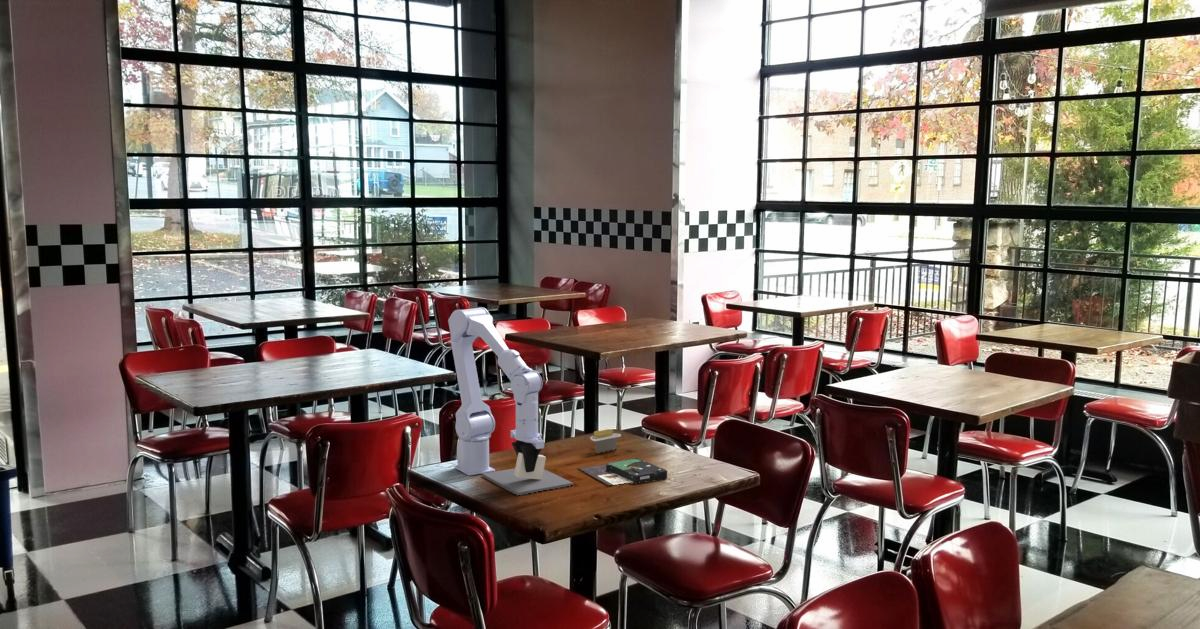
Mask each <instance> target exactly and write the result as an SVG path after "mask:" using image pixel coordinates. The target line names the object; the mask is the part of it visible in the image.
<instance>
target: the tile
mask: <svg viewBox="0 0 1200 629" xmlns="http://www.w3.org/2000/svg"><path fill="white" fill-rule="evenodd" d="M516 457H517V456H516ZM546 459H547V457H546V456H544V455H543V454H539V455H538V458H537V461H536V465H535V469H534V471H533V472H526V470H525V463H524V457H523V453H519V452H518V457H517V459H516V464H515V467H514V468H515V472H514V476H516V477H518V478H529V479H540V480H542V475H543V470H544V469H545V466H546Z"/></svg>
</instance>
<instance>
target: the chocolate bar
mask: <svg viewBox="0 0 1200 629" xmlns="http://www.w3.org/2000/svg"><path fill="white" fill-rule="evenodd" d="M606 465H608V463H605V464H599V465H592V466H591V465H590V466H582V467H578V468H577V470H578V469H580V470H582V471H584V472H586V473H587V474H589V475H590V476H589V475H588V476H589V477H591V476H592V477H594V478H596V479H597V480H596V479H595V480H596V481H598V480H599V481H601V482H603V483H604V484H603V483H602V484H603V485H605V484H606V485H608V486H610V487H612V486H611V485H617V486H619V485H618V484H624V483H631V482H633V481H630V480H629V479H626V478H624V477H622V476H620V475H617V474H615V473H613V472H611V471H609V470H606ZM580 470H579V471H580ZM582 471H581V472H582ZM584 472H583V473H584ZM587 474H586V475H587ZM592 477H591V478H592ZM594 478H593V479H594ZM599 481H598V482H599ZM601 482H600V483H601ZM631 484H632V483H631ZM606 485H605V486H606ZM624 485H625V484H624ZM608 486H607V487H608Z"/></svg>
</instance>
